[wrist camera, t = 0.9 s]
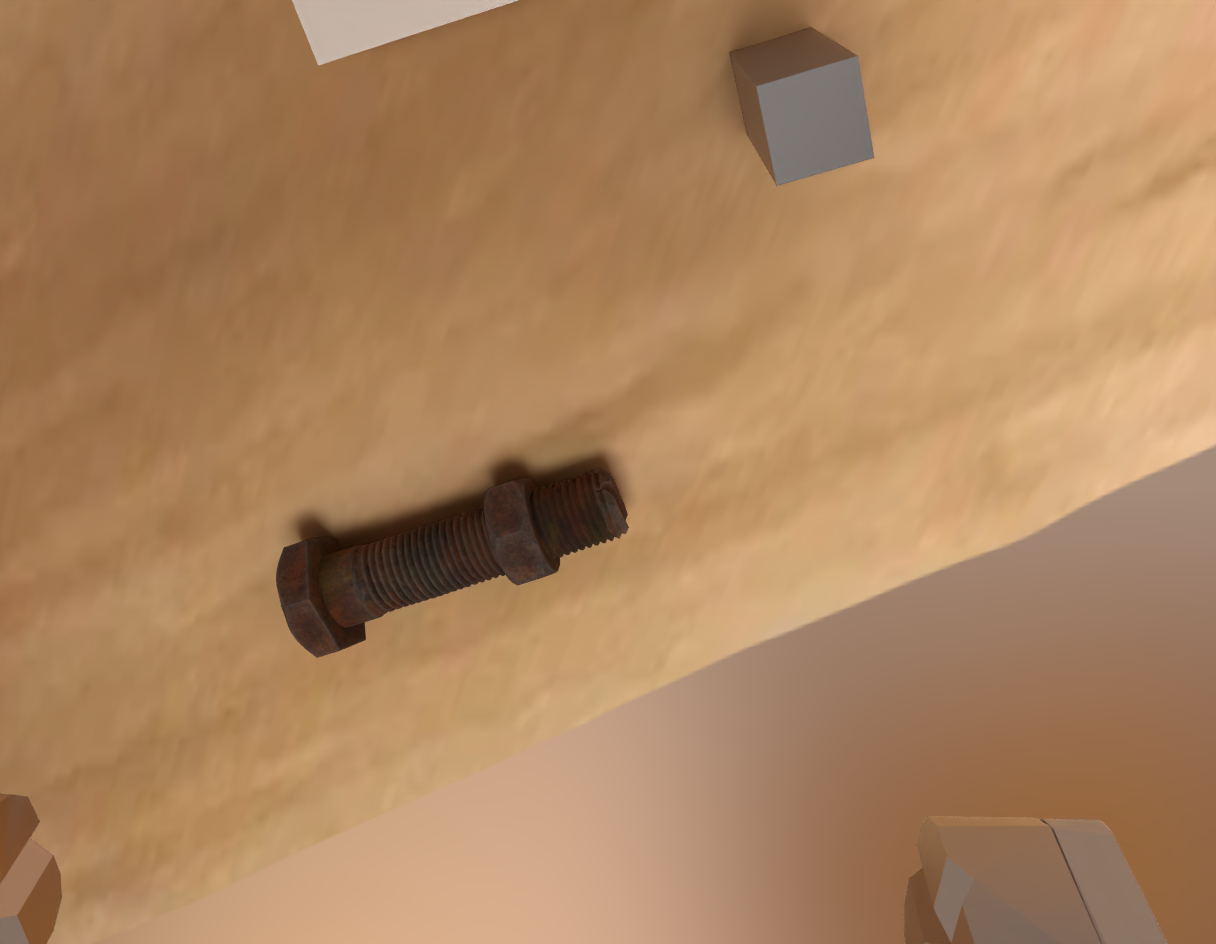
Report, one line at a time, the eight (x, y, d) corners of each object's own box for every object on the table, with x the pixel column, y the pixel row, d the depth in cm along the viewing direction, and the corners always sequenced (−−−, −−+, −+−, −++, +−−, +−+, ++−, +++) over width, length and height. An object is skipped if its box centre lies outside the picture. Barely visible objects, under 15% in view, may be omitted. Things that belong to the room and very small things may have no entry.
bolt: (621, 472, 47) (331, 567, 50) (589, 415, 43) (274, 522, 45) (648, 581, 44) (337, 678, 46) (616, 532, 40) (276, 640, 42)
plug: (747, 134, 38) (776, 185, 31) (729, 52, 37) (756, 86, 30) (826, 111, 38) (874, 157, 31) (810, 27, 36) (858, 55, 29)
